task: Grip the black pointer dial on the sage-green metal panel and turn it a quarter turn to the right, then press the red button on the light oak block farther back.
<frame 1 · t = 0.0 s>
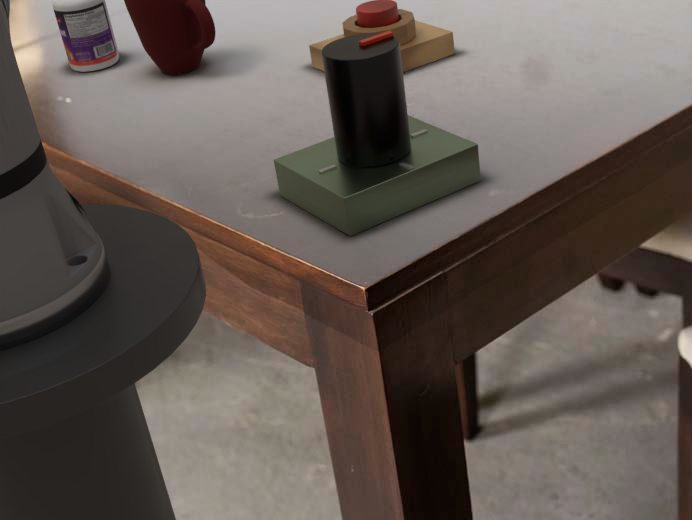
panel: (379, 188, 85), on the table
button block: (383, 60, 109), on the table
mug: (190, 71, 114), on the table
dial: (367, 98, 81), point 7 cm above the table, hinge at 0.0°
pill bottle: (95, 65, 119), on the table
button: (377, 14, 106), point 4 cm above the table, slide at 0.1 cm
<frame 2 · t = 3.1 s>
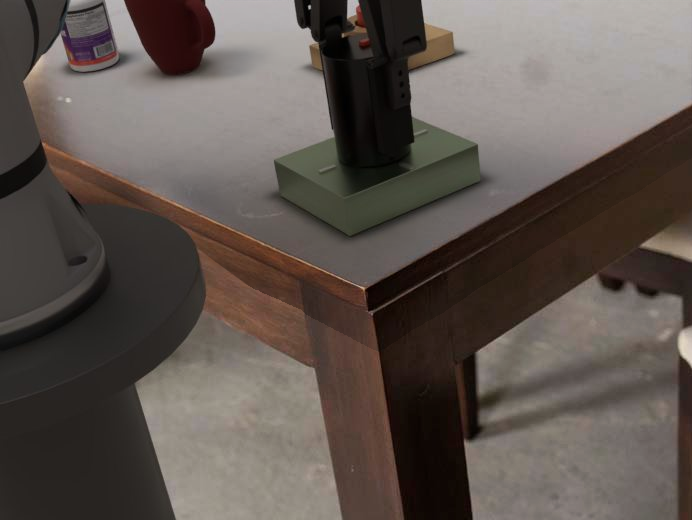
hand: (372, 135, 82), 4 cm above the table, tool pointing down, fingers closed on dial, 6 cm apart
dial: (367, 98, 81), point 7 cm above the table, hinge at 0.0°, touching gripper
everything else where it was.
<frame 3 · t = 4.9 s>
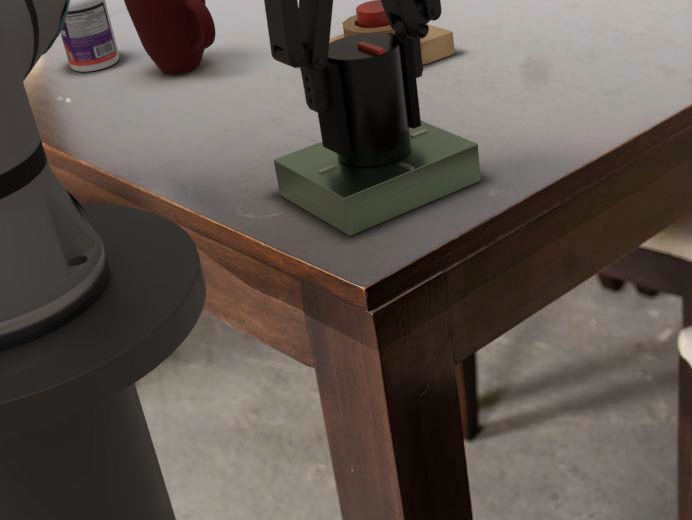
hand: (372, 135, 82), 4 cm above the table, tool pointing down, fingers closed on dial, 6 cm apart
dial: (367, 98, 81), point 7 cm above the table, hinge at -89.8°, touching gripper
everything else where it was.
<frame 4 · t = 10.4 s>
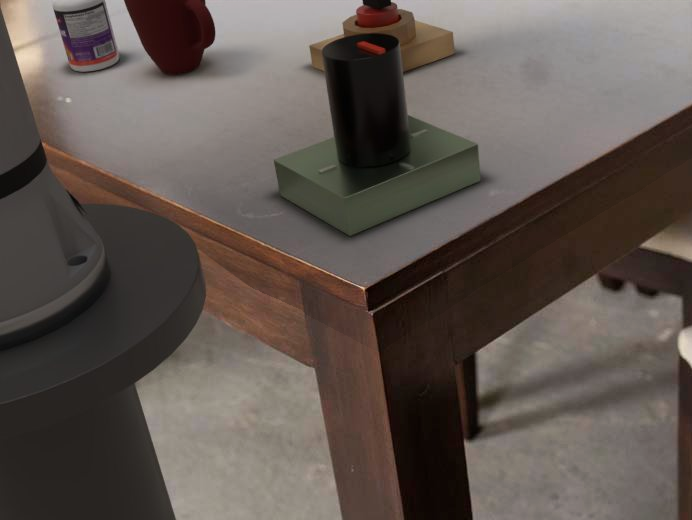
hand: (377, 4, 106), 5 cm above the table, tool pointing down, fingers closed
dial: (367, 98, 81), point 7 cm above the table, hinge at -89.6°
button: (377, 16, 107), point 4 cm above the table, slide at -0.1 cm, touching gripper
everything else where it was.
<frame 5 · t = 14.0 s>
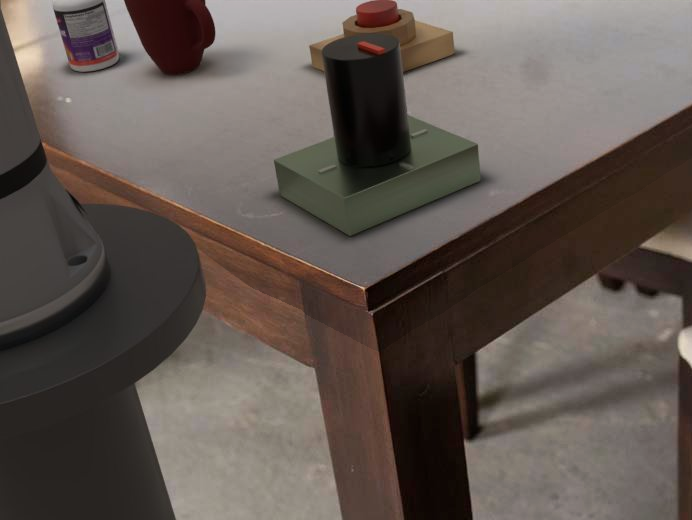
button: (377, 14, 106), point 4 cm above the table, slide at 0.1 cm
everything else where it was.
at the end: dial at -90° (first picture: +0°); button pushed in 1.0 cm at the most during the clip, back to where it started at the end; button slide at 0.1 cm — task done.
